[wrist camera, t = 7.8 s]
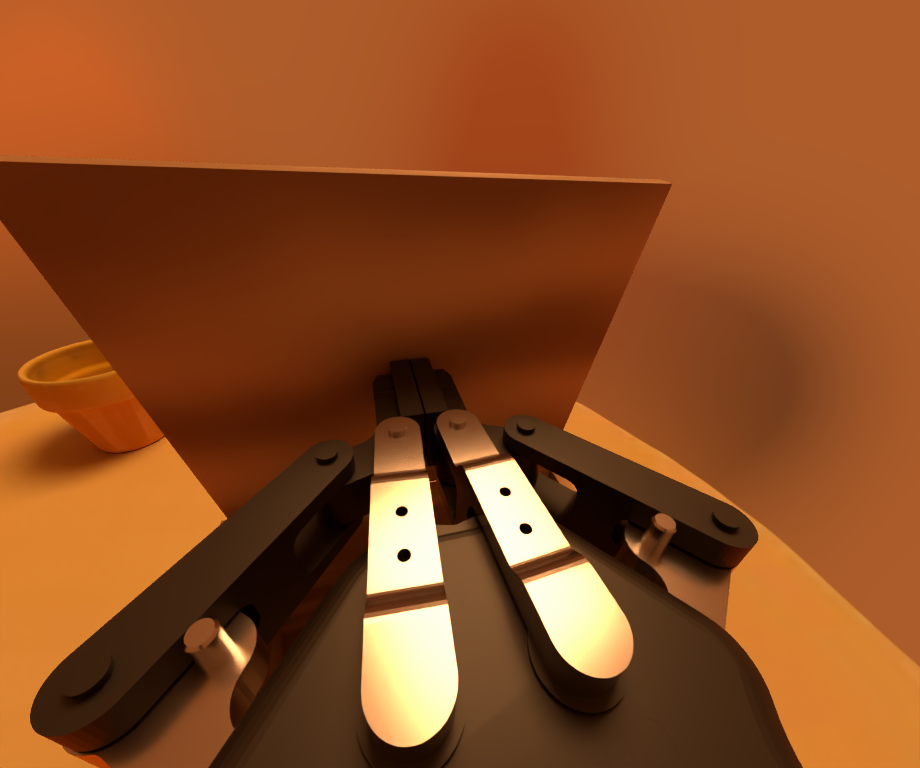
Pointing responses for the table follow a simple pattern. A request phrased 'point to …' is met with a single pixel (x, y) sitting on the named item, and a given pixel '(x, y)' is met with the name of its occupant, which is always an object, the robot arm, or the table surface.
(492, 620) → the robot arm
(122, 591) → the table surface
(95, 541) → the table surface
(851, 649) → the table surface
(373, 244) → the box flap
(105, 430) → the plant pot
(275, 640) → the open wooden box
